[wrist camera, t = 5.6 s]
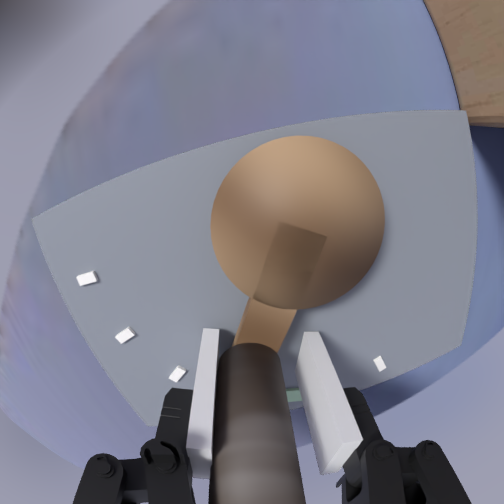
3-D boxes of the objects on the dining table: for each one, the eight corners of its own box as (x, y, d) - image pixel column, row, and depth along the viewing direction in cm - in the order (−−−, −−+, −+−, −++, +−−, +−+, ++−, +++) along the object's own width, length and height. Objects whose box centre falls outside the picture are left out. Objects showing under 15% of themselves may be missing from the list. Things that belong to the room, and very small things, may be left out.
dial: (242, 114, 10) (246, -51, 1) (394, 174, 11) (584, 231, 2) (170, 392, 14) (141, 530, 6) (280, 413, 15) (299, 542, 7)
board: (449, 112, 11) (468, 110, 9) (450, 334, 16) (462, 346, 15) (46, 212, 12) (28, 219, 11) (151, 411, 17) (146, 428, 16)
